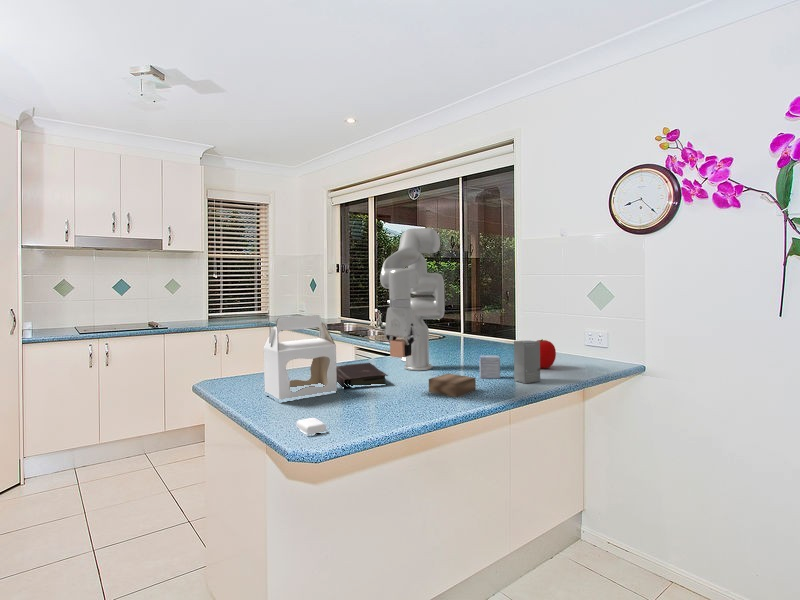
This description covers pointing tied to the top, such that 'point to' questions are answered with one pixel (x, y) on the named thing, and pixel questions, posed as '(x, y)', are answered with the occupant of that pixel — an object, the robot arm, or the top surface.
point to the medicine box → (489, 367)
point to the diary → (359, 374)
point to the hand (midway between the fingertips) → (400, 354)
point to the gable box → (284, 352)
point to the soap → (311, 426)
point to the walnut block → (452, 385)
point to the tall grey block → (527, 361)
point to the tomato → (546, 353)
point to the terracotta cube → (398, 348)
